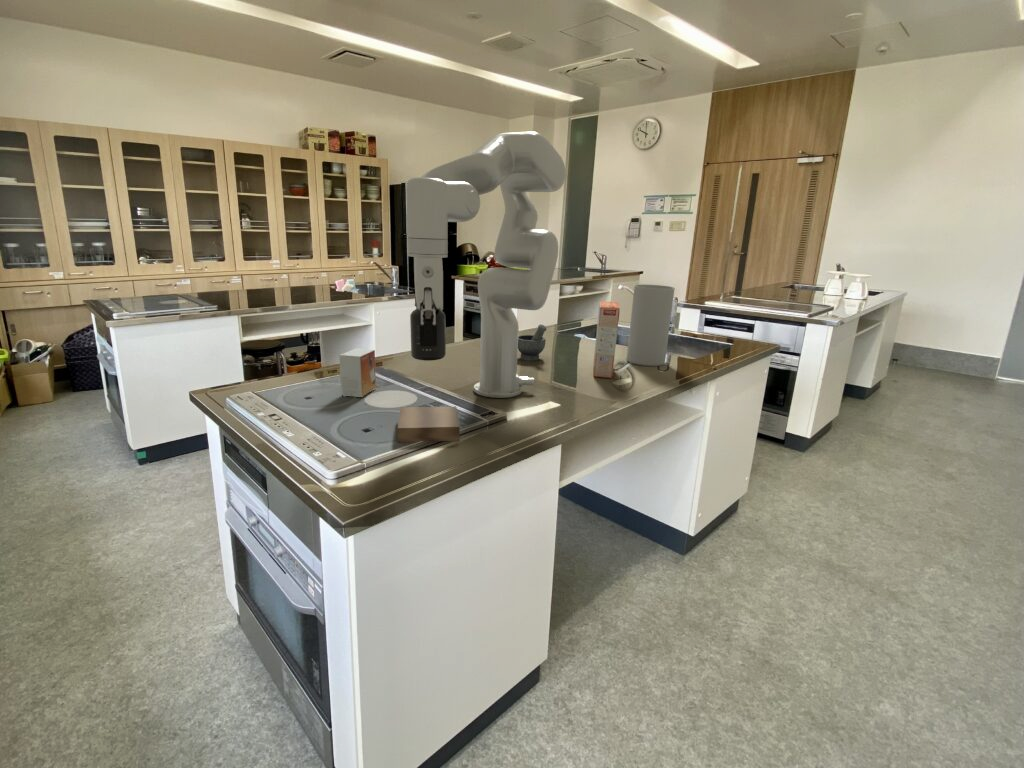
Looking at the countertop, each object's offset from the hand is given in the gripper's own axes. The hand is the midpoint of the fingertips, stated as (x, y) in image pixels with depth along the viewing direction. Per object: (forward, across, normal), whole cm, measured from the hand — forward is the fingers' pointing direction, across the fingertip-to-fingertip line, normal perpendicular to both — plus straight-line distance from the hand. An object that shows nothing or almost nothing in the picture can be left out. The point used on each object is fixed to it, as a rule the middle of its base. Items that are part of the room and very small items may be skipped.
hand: (428, 341), depth 101 cm
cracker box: (+19, +44, -53) cm, 72 cm away
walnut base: (+19, 0, 0) cm, 19 cm away
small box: (+19, +26, +17) cm, 37 cm away
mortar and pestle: (+19, +61, -34) cm, 72 cm away
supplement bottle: (+3, 0, 0) cm, 3 cm away
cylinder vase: (+19, +56, -72) cm, 93 cm away
